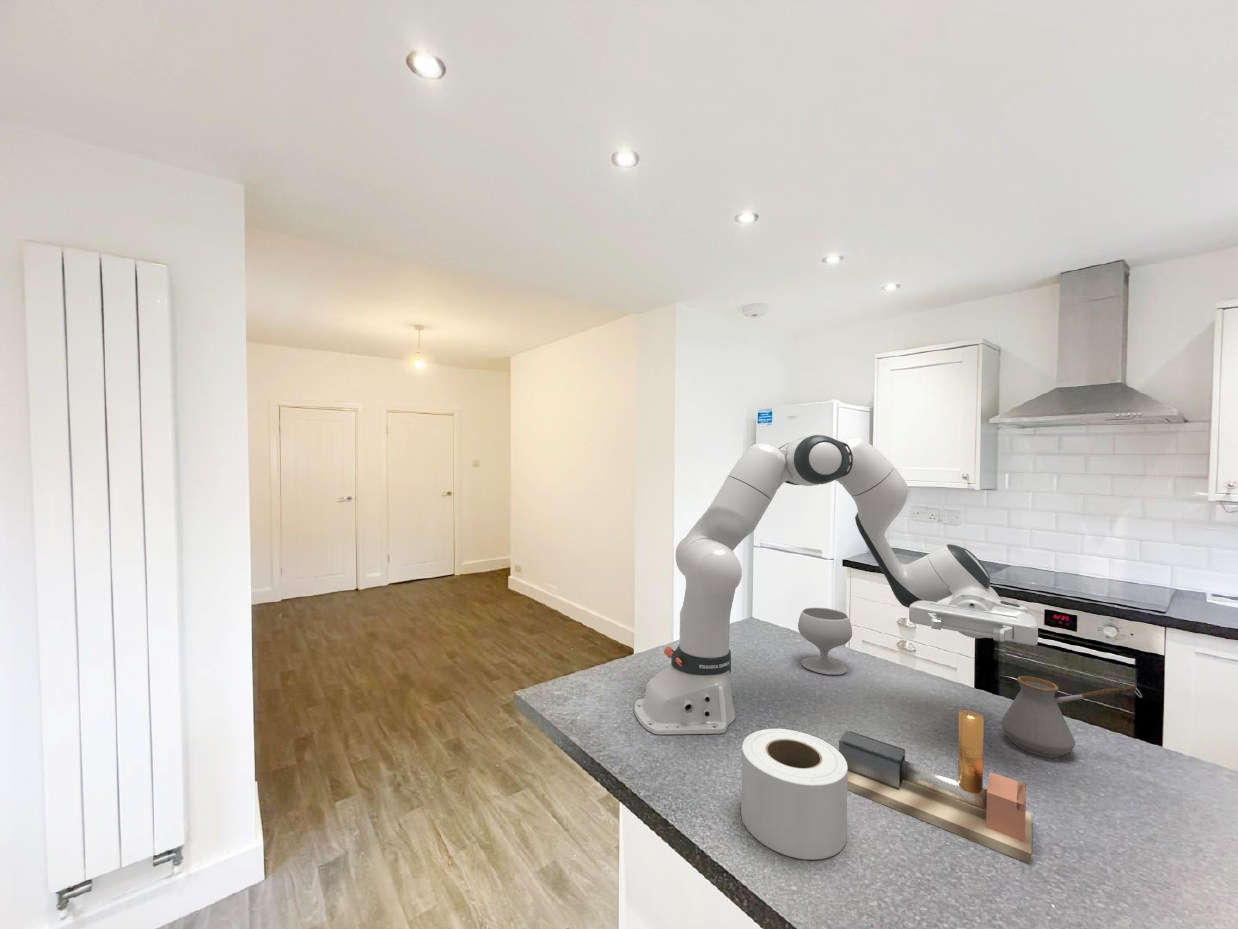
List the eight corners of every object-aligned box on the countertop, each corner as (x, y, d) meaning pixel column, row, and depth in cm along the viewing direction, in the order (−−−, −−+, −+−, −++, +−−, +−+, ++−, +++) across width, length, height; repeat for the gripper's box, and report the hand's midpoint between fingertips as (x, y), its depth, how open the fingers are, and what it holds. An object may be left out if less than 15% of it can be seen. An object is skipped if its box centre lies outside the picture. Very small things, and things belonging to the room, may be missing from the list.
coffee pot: (1010, 754, 97) (1011, 677, 97) (993, 726, 107) (994, 657, 107) (1158, 784, 88) (1159, 699, 88) (1123, 750, 99) (1124, 675, 99)
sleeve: (838, 767, 89) (839, 740, 89) (846, 755, 93) (846, 730, 93) (898, 790, 83) (899, 761, 83) (904, 777, 86) (905, 749, 86)
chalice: (788, 658, 144) (789, 606, 144) (834, 657, 146) (834, 606, 146) (812, 678, 130) (813, 621, 130) (862, 677, 132) (863, 620, 132)
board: (830, 782, 87) (830, 774, 87) (848, 755, 95) (848, 747, 95) (1031, 864, 69) (1031, 854, 69) (1031, 822, 78) (1031, 813, 78)
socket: (986, 827, 74) (986, 792, 74) (989, 805, 79) (989, 772, 80) (1024, 842, 72) (1025, 805, 72) (1025, 818, 77) (1026, 783, 77)
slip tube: (893, 780, 84) (894, 697, 84) (897, 771, 86) (898, 691, 86) (1009, 824, 74) (1011, 730, 74) (1010, 812, 76) (1011, 722, 77)
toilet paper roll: (755, 779, 88) (756, 718, 88) (851, 811, 80) (852, 744, 80) (728, 834, 74) (729, 762, 74) (840, 879, 66) (841, 798, 66)
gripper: (914, 590, 108) (901, 602, 97) (1037, 608, 95) (1038, 625, 84) (914, 619, 108) (901, 634, 97) (1037, 641, 95) (1037, 662, 84)
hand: (966, 630), depth 90 cm, fingers open, 8 cm apart
